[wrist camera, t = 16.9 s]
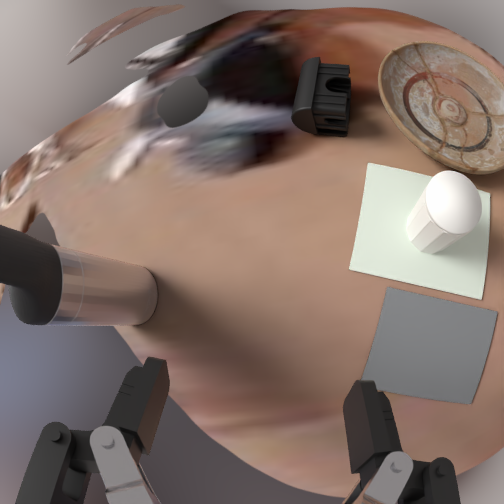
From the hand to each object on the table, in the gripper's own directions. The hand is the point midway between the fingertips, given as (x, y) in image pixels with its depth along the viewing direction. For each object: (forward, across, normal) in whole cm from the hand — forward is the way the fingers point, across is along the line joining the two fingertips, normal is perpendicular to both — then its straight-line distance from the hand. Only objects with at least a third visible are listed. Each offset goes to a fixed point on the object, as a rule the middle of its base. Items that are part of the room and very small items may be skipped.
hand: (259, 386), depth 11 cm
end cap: (+36, -7, -12) cm, 39 cm away
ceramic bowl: (+32, -25, -16) cm, 44 cm away
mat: (+14, -22, +11) cm, 28 cm away
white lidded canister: (+22, -20, -1) cm, 30 cm away
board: (+22, -20, 0) cm, 30 cm away
